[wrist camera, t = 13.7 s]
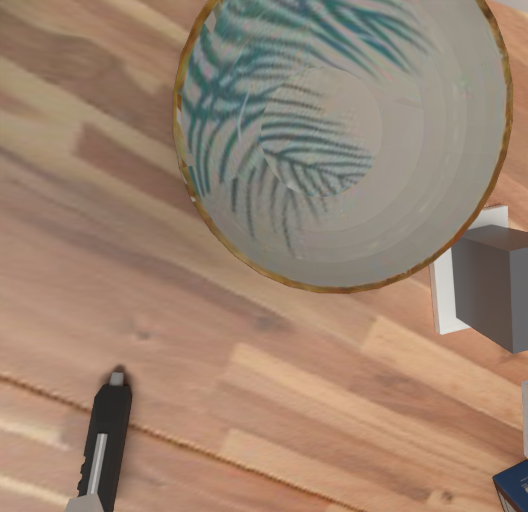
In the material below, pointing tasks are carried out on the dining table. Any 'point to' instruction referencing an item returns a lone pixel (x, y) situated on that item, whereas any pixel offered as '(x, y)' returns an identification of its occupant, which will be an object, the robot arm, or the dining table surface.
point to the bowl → (342, 132)
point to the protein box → (513, 488)
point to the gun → (106, 441)
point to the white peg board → (444, 275)
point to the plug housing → (493, 284)
